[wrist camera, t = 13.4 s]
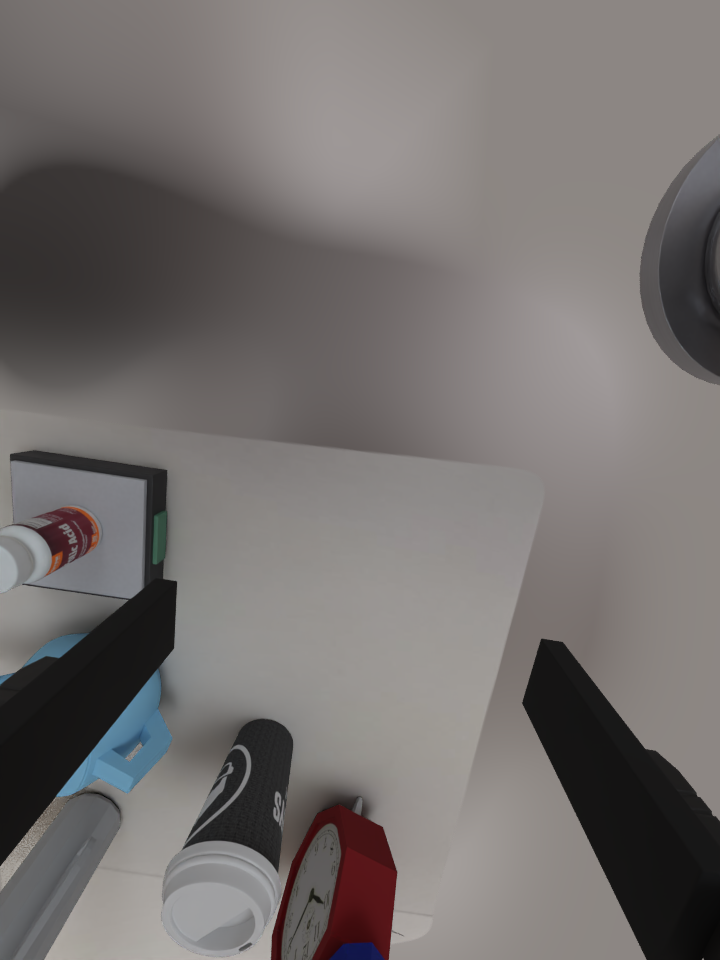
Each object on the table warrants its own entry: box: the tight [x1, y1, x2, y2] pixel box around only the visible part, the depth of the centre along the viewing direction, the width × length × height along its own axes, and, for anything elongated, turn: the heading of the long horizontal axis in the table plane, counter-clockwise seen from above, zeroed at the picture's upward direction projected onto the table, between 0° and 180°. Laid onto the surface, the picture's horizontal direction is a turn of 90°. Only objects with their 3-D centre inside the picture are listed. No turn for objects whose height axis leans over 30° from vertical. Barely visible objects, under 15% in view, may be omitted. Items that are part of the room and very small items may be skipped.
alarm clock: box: [271, 797, 403, 960], centre depth 36 cm, size 15×9×20 cm, turn 147°
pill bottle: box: [0, 506, 102, 593], centre depth 30 cm, size 5×5×8 cm
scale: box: [10, 450, 167, 600], centre depth 36 cm, size 13×13×3 cm
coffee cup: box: [161, 719, 293, 957], centre depth 36 cm, size 10×10×15 cm
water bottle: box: [0, 793, 120, 960], centre depth 33 cm, size 9×8×25 cm
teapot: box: [0, 633, 172, 797], centre depth 35 cm, size 20×17×12 cm
